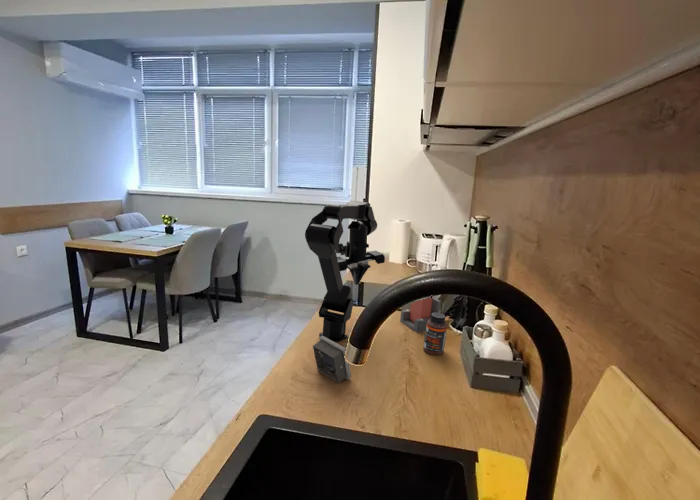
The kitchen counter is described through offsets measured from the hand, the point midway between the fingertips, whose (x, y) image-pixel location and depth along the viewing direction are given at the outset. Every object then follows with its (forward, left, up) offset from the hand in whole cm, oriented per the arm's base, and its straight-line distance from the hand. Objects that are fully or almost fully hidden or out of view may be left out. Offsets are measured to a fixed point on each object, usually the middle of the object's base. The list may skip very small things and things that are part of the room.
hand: (356, 284), depth 128 cm
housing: (+15, -16, -13) cm, 26 cm away
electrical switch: (-30, -22, -13) cm, 39 cm away
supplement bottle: (+3, -30, -13) cm, 33 cm away
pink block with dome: (+15, -16, -11) cm, 25 cm away
